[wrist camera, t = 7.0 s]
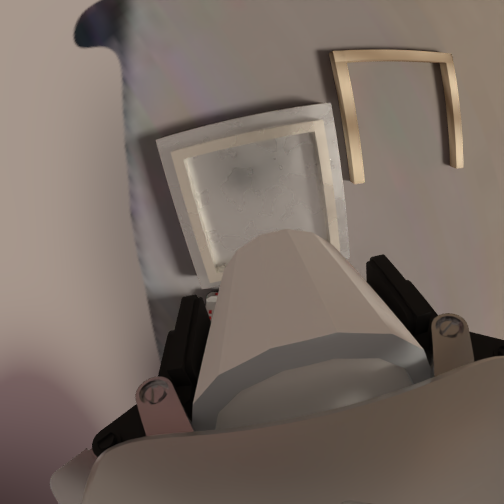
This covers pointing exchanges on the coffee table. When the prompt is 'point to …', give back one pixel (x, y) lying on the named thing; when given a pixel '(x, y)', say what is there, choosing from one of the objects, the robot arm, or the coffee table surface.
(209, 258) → the plate
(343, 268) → the white cup
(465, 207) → the coffee table surface
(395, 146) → the coffee table surface
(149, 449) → the robot arm
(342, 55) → the cradle
